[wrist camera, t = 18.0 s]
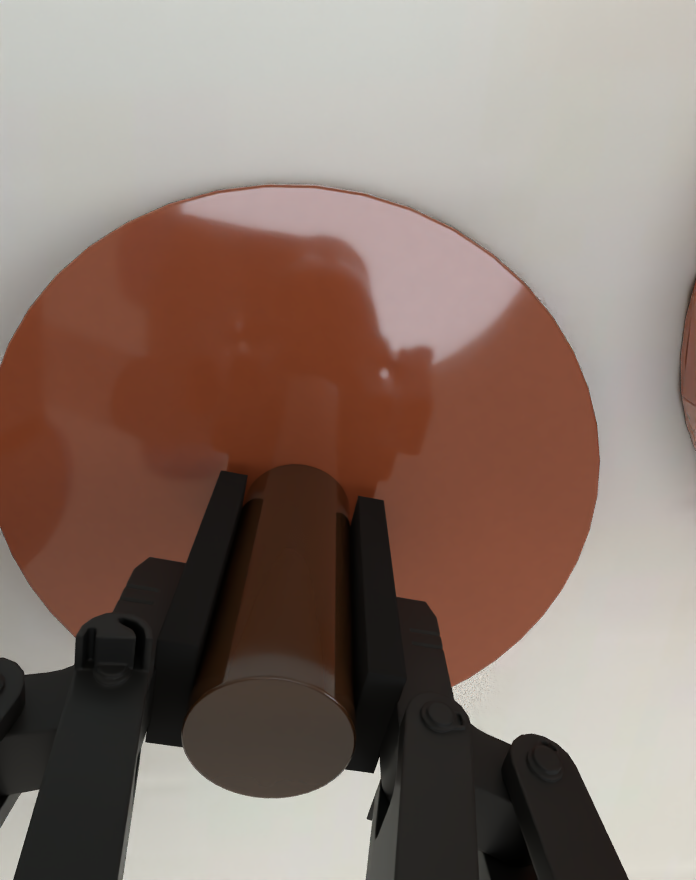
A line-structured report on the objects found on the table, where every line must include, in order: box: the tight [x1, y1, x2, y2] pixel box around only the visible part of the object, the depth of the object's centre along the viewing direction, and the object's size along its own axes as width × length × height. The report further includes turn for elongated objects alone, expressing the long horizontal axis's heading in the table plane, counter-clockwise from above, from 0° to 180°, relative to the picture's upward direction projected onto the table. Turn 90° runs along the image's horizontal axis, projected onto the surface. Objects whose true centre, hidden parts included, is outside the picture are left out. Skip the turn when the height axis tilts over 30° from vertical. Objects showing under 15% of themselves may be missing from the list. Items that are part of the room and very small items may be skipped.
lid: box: [0, 184, 600, 798], centre depth 15 cm, size 18×18×9 cm
